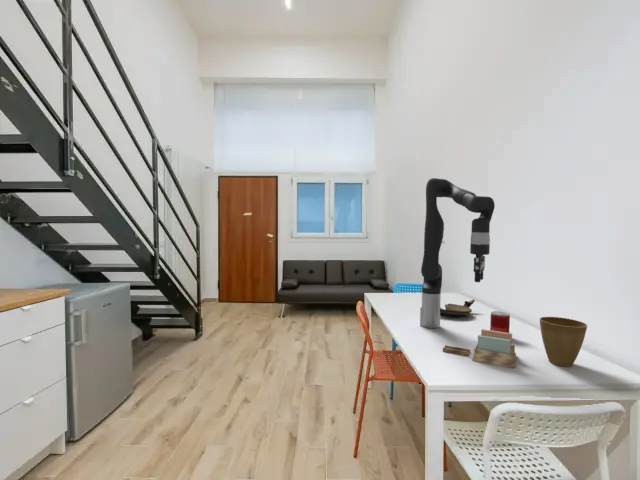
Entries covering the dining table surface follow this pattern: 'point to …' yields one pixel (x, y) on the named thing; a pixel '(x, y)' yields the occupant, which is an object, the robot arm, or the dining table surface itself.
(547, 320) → the plant pot
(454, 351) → the stand rails
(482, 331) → the pink rectangular slab
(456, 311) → the oil lamp
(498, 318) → the canned food
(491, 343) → the green plate
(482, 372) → the dining table surface
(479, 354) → the rack
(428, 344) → the dining table surface
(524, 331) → the dining table surface
